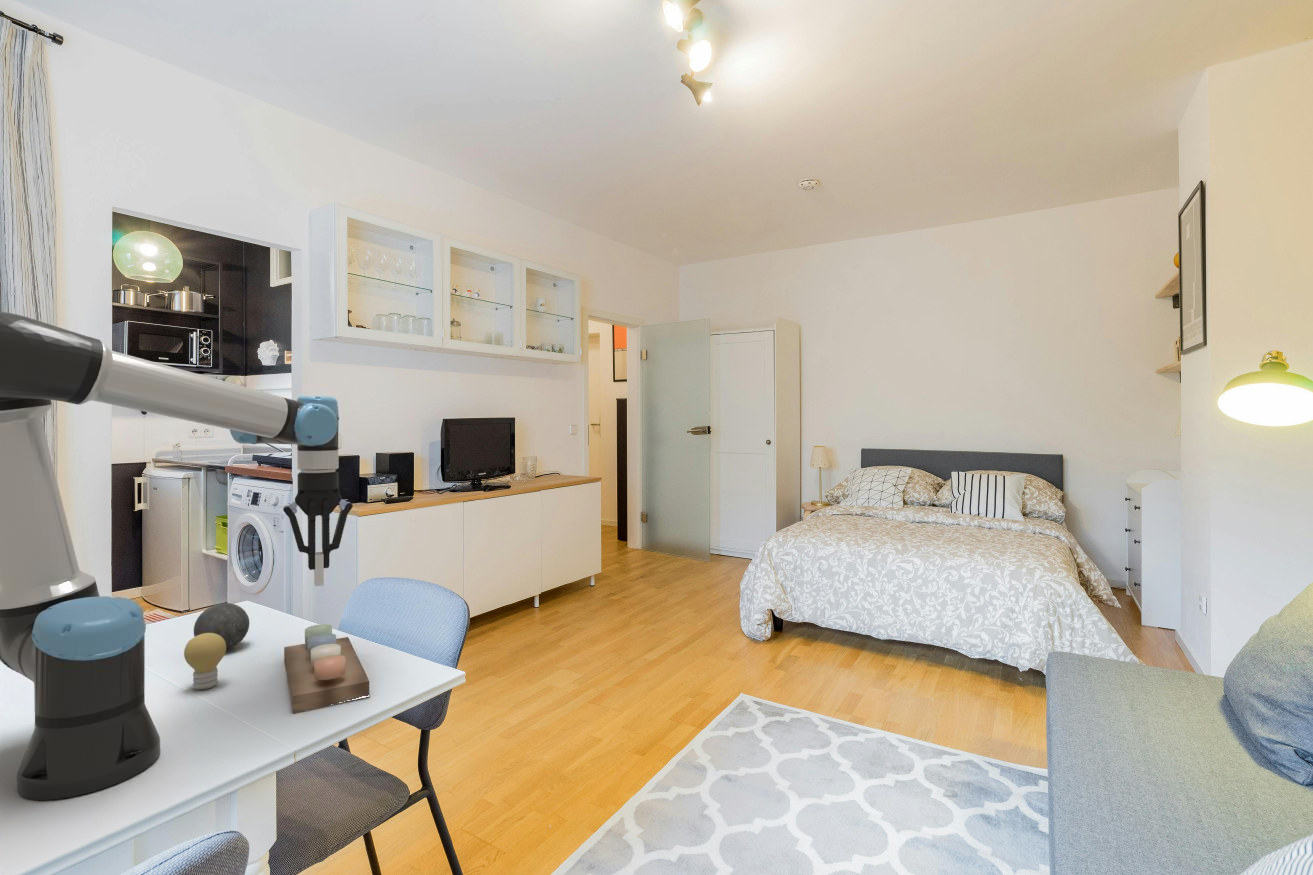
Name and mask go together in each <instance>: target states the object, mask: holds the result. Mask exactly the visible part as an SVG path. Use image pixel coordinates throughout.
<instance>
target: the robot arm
mask: <svg viewBox="0 0 1313 875" xmlns="http://www.w3.org/2000/svg"><path fill="white" fill-rule="evenodd" d="M52 401H55V402H64V403H68V404H72V405H78V406H80V405H83V404H86V403H88V402H91V401H94V402H97V403H102V404H107V405H112V406H116V407H122V408H127V409H132V410H135V411H140V412H141V411H142V412H146V413H150V414H154V415H160V416H165V417H169V418H172V419H173V418H175V419H179V420H183V421H188V422H194V423H197V424H202V425H207V426H212V427H216V428H222V429H227V430H229V433H230V435H231V437H232V439H233V440H234V441H235V442H236V443H238V444H242V445H244V444H245V445H247V444H248V445H250V444H252V445H256V444H257V445H259V444H263V445H265V444H266V445H267V444H273V445H296V446H297V448H296V450H297V451H296V452H297V454H296V455H297V458H296V459H297V461H296V462H297V467H296V468H297V470H299V471H300V472H298V474H297V494H296V495H295V497H294V501H292V502H291V503H289V504H288V505H284V506H283V507H282V510H283V512H284V514H285V515H286V516H287V517H288V519H289V522H290V525H291V528H292V532H293V535H294V540H295V543H296V547H297V549H298V551H299V552H300V553H303V554H307V567H308V569H309V570H310V571H312V570H313V573H314V575H313V576H314V577H313V578H314V580H313V581H314V582H313V584H314V586H315V587H321V586H324V585H325V583H324V582H325V581H324V580H325V579H324V578H325V577H324V576H325V574H324V570H325V569H329V567H330V554H331V552H332V551H335V550H338V549H339V548H340V544H341V542H342V537H343V533H344V529H345V526H346V521H347V518H348V514H349V513H350V512H351V510H352V508H353V507H354V505H353V503H352V502H350V501H347V500H345V499H342V495H341V494H340V487H339V486H340V484H339V481H340V480H339V479H340V478H339V474H340V473H339V472H338V471H337V470H338V469H339V468H340V466H339V465H340V464H339V460H340V459H339V420H340V416H339V415H340V414H339V406H338V400H337V399H336V398H335V397H333V396H324V395H320V396H319V395H301V396H299V397H297V399H296V400H294V399H291V398H287V397H282V396H280V395H276V394H273V393H269V392H265V391H262V390H258V389H253V388H251V387H246V386H242V385H239V384H236V383H232V382H228V381H225V380H221V379H217V378H214V377H209V376H207V375H203V374H199V373H195V372H192V371H188V370H185V369H181V368H177V367H173V366H170V365H166V364H162V363H159V362H155V361H151V360H148V359H145V358H142V357H141V358H140V357H137V356H133V355H130V354H126V353H122V352H119V351H115V350H111V349H110V348H108V347H107V345H106V343H105V342H104V341H103V340H101V339H98V338H94V337H91V336H87V335H84V334H81V333H78V332H75V331H71V330H68V329H65V328H62V327H59V326H56V325H53V324H51V323H50V324H49V323H47V322H44V321H41V320H37V319H35V318H31V317H29V316H25V315H21V314H16V313H12V312H6V311H0V662H1V663H2V664H3V665H4V666H6V667H7V668H9V669H11V671H15V672H16V673H18V674H20V675H21V676H24V677H25V678H27V679H28V680H30V681H32V683H33V685H34V686H33V687H34V695H33V696H34V698H33V699H34V730H33V732H32V735H31V737H30V740H29V742H28V745H27V747H26V749H25V752H24V755H23V757H22V760H21V762H20V765H19V768H18V770H17V773H16V792H17V793H18V795H19V796H20V797H23V798H25V799H29V800H37V801H38V800H39V801H46V800H47V801H49V800H50V801H51V800H58V799H66V798H72V797H77V796H81V795H85V794H89V793H93V792H96V791H99V790H103V789H106V788H108V787H111V786H113V785H114V786H115V785H117V784H118V783H121V782H123V781H126V780H128V779H130V778H132V777H134V776H136V775H138V774H140V773H142V772H143V771H145V770H146V769H148V768H149V767H150V766H152V765H153V764H154V763H155V762H156V761H157V760H158V758H159V756H161V755H160V754H161V737H160V734H159V733H158V730H157V727H156V725H155V724H154V722H153V719H152V717H151V715H150V712H149V710H148V707H147V706H146V703H145V701H146V700H145V698H146V697H145V696H146V695H145V689H146V688H145V685H146V684H145V681H146V680H145V670H146V669H145V668H146V667H145V666H146V665H145V661H146V660H145V659H146V658H145V655H146V654H145V652H146V651H145V643H146V642H145V641H146V640H145V637H146V636H145V634H146V628H147V625H146V620H145V619H144V611H143V607H142V606H141V605H140V604H139V603H138V601H137V602H136V601H135V600H134V599H133V600H132V599H131V598H127V597H122V596H121V597H120V596H116V597H111V596H110V595H109V596H108V595H106V596H104V595H103V596H100V593H99V589H98V585H97V581H96V578H95V576H93V575H91V574H88V573H86V572H83V571H82V570H80V567H79V564H78V560H77V556H76V552H75V548H74V544H73V540H72V536H71V531H70V529H69V524H68V519H67V516H66V515H67V514H66V511H65V508H64V503H63V498H62V494H61V492H60V488H59V484H58V480H57V476H56V472H55V467H54V463H53V461H52V455H51V452H50V449H49V444H48V440H47V436H46V431H45V428H44V425H43V421H42V420H43V418H44V416H45V415H46V414H47V413H48V411H50V410H51V408H53V404H52V403H53V402H52ZM338 505H339V507H338V509H339V511H340V512H339V514H338V518H337V522H336V524H335V525H336V526H335V529H334V534H333V537H332V540H330V539H331V537H330V534H331V532H330V519H331V518H330V515H331V514H332V513H333V512H334V510H335V509H336V508H337V506H338ZM297 507H299V509H300V510H301V511H302V512H303V513H304V515H306V517H307V545H305V543H304V539H303V534H302V533H301V529H300V528H301V527H300V525H299V522H298V518H297V516H296V514H297V512H298V509H297ZM318 516H320V517H321V551H317V552H316V520H317V518H316V517H318ZM330 542H331V543H330Z"/></svg>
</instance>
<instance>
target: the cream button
mask: <svg viewBox="0 0 1313 875" xmlns="http://www.w3.org/2000/svg"><path fill="white" fill-rule="evenodd" d="M330 655H341V646H340V645H338V644H324V645H319V646H316V647H314V648H312V649H311V666H314V661H315V660H317V659H319V658H321V657H325V656H330Z"/></svg>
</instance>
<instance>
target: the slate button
mask: <svg viewBox="0 0 1313 875" xmlns="http://www.w3.org/2000/svg"><path fill="white" fill-rule="evenodd" d="M336 639H337V635H336V634H335V633H332V634H319V635H315V636H312V637H310V638H308V654H309V655H311V649H312V648H314V647H316V646H319V645H324V644H336Z"/></svg>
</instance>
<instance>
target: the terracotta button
mask: <svg viewBox="0 0 1313 875" xmlns="http://www.w3.org/2000/svg"><path fill="white" fill-rule="evenodd" d="M344 674H345V656H342V655H330V656H325V657H321V658H319V659H317V660H315V661H314V678H315V679H318V680H329V679H334V678H338V677H340V676H342V675H344Z"/></svg>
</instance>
